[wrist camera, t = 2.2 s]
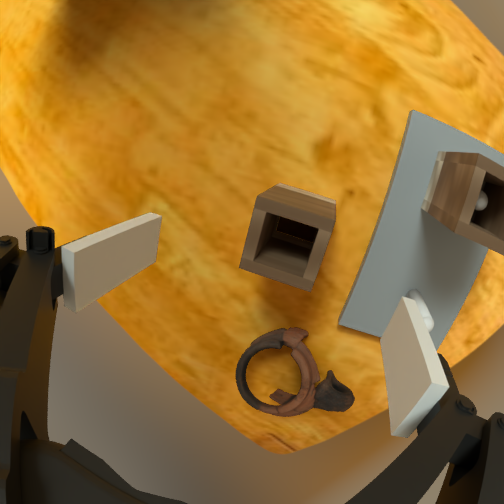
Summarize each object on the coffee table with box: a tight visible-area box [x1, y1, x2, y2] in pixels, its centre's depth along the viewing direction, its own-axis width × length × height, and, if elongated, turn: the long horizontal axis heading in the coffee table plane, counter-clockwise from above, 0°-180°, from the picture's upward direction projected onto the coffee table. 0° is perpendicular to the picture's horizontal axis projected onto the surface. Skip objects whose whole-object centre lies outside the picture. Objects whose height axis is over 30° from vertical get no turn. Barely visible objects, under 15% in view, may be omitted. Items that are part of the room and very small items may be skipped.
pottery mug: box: [236, 327, 355, 417], centre depth 29 cm, size 12×10×8 cm
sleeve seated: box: [421, 151, 504, 255], centre depth 18 cm, size 5×5×8 cm
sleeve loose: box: [239, 183, 336, 292], centre depth 23 cm, size 5×5×8 cm
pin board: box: [339, 110, 504, 351], centre depth 21 cm, size 20×11×7 cm, turn 165°
